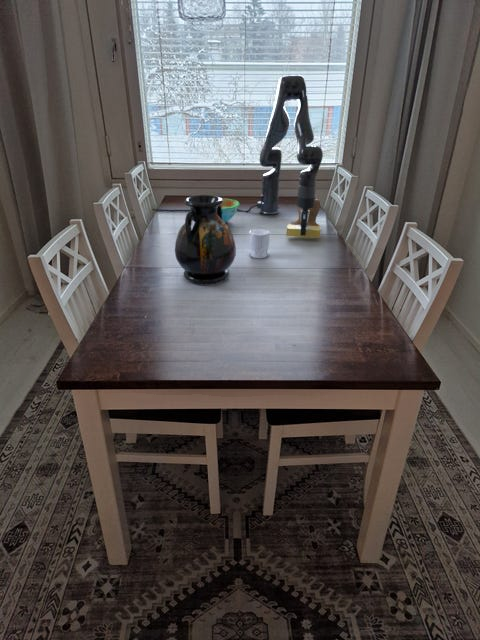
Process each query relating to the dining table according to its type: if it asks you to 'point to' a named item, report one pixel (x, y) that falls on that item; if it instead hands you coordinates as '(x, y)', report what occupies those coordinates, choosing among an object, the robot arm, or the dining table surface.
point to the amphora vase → (205, 242)
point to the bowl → (228, 209)
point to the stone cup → (311, 217)
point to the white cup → (259, 243)
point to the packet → (296, 231)
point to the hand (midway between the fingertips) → (303, 232)
